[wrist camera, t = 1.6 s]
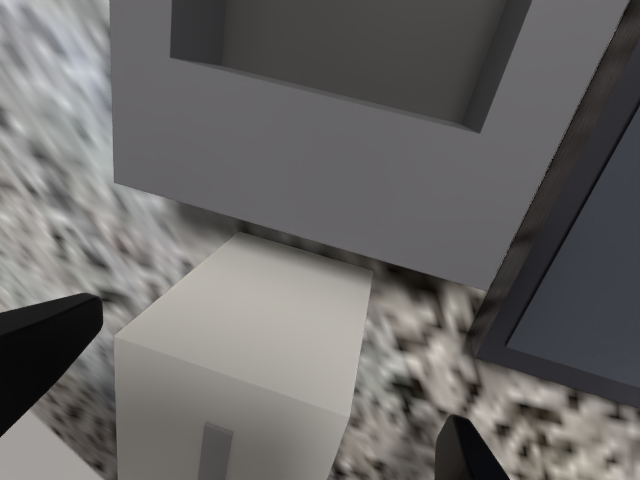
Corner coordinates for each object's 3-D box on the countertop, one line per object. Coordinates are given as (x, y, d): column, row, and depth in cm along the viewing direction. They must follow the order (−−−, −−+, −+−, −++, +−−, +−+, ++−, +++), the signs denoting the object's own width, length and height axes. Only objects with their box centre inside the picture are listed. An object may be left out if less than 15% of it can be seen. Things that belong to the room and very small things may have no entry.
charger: (340, 375, 12) (298, 560, 7) (225, 337, 12) (115, 488, 7) (373, 270, 10) (349, 421, 5) (239, 230, 10) (110, 339, 6)
